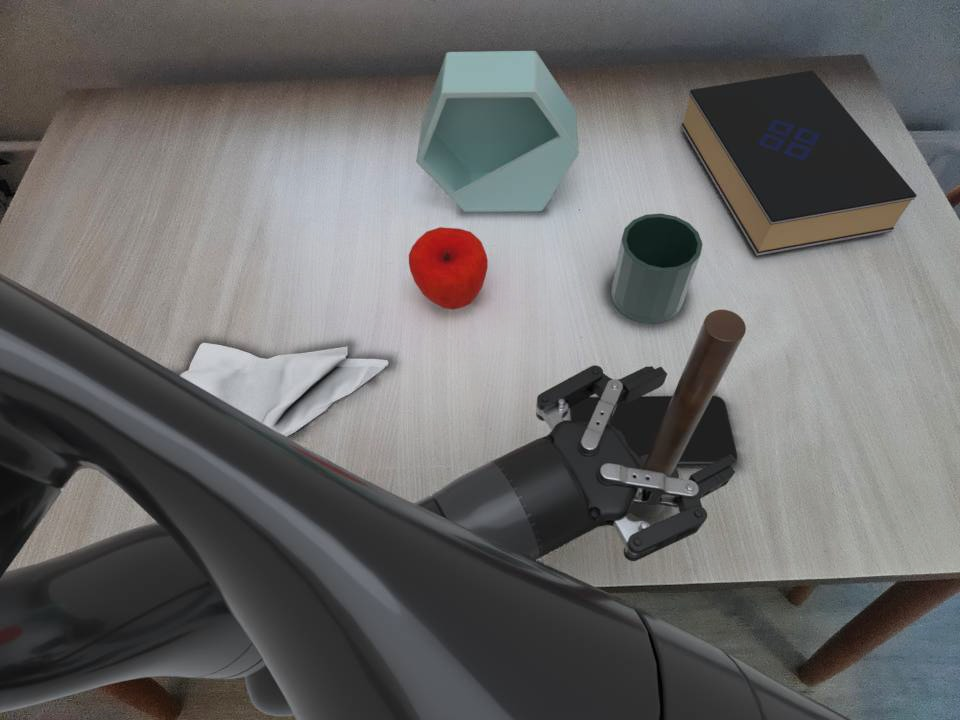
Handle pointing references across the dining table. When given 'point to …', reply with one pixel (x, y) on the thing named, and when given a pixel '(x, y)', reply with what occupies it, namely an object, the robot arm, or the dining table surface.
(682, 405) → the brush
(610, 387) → the robot arm
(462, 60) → the planter
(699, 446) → the smartphone
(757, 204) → the book
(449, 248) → the apple
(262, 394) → the cloth
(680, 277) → the green faceted cup
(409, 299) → the dining table surface
